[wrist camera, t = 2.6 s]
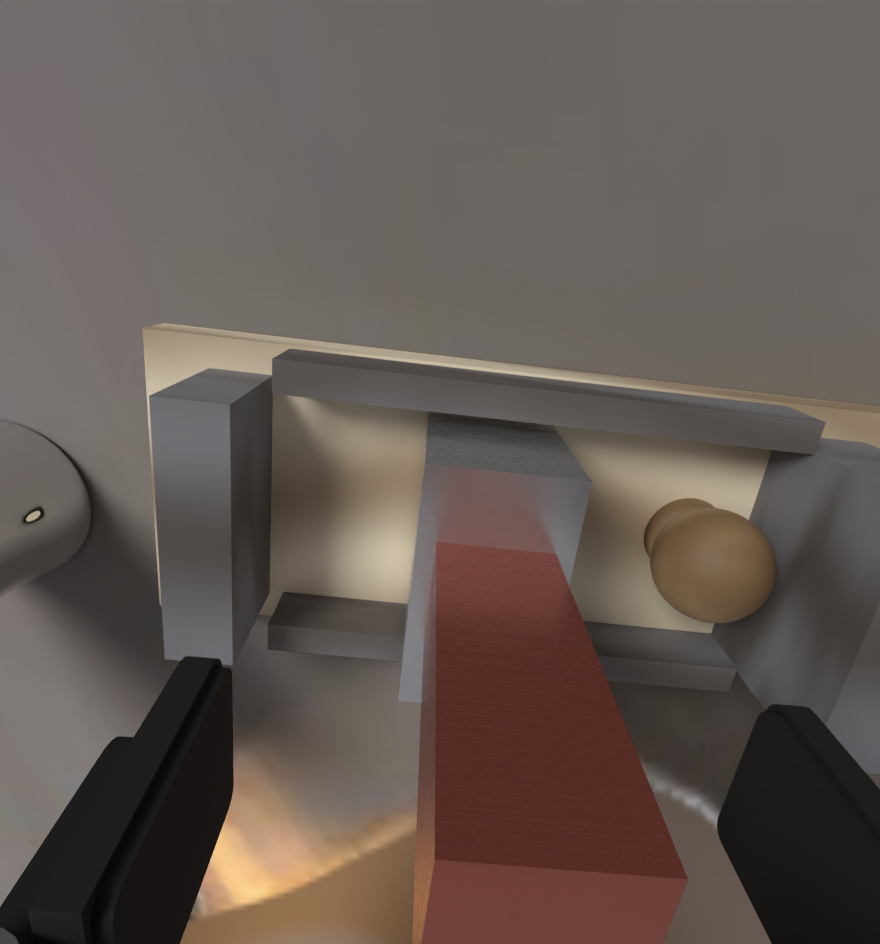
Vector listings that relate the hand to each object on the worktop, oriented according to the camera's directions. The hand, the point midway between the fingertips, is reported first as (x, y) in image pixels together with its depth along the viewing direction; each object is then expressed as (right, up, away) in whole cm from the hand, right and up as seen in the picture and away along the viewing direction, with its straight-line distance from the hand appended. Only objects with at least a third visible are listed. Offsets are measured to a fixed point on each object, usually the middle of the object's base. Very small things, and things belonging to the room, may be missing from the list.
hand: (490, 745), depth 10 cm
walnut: (+8, +3, +10) cm, 13 cm away
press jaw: (0, +3, +9) cm, 10 cm away
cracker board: (+2, +4, +11) cm, 12 cm away
